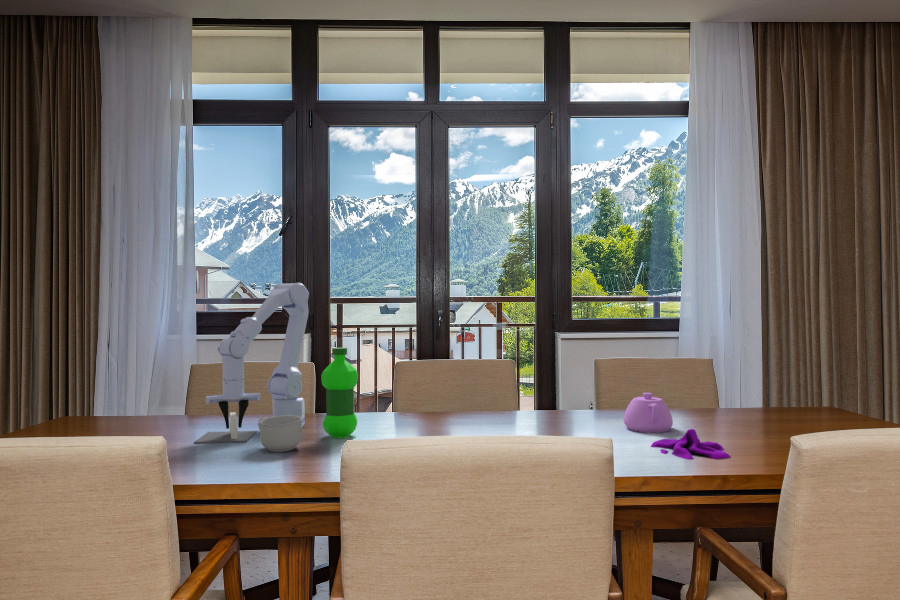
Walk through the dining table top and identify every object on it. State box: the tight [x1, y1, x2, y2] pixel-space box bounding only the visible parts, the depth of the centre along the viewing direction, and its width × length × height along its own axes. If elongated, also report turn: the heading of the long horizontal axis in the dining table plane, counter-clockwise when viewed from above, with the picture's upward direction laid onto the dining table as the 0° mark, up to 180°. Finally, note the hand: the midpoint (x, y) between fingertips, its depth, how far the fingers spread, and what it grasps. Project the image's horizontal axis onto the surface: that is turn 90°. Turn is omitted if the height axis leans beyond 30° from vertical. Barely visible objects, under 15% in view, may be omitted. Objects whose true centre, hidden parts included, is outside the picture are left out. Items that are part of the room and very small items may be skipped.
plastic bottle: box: [320, 347, 359, 439], centre depth 178 cm, size 10×10×25 cm
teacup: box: [257, 415, 303, 453], centre depth 164 cm, size 14×11×8 cm
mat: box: [193, 430, 258, 444], centre depth 177 cm, size 14×13×1 cm
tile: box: [229, 411, 238, 439], centre depth 178 cm, size 8×2×6 cm, turn 22°
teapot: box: [623, 392, 674, 434], centre depth 186 cm, size 14×20×11 cm
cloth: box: [650, 428, 732, 461], centre depth 157 cm, size 22×19×6 cm
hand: (233, 427), depth 178 cm, fingers open, 3 cm apart
